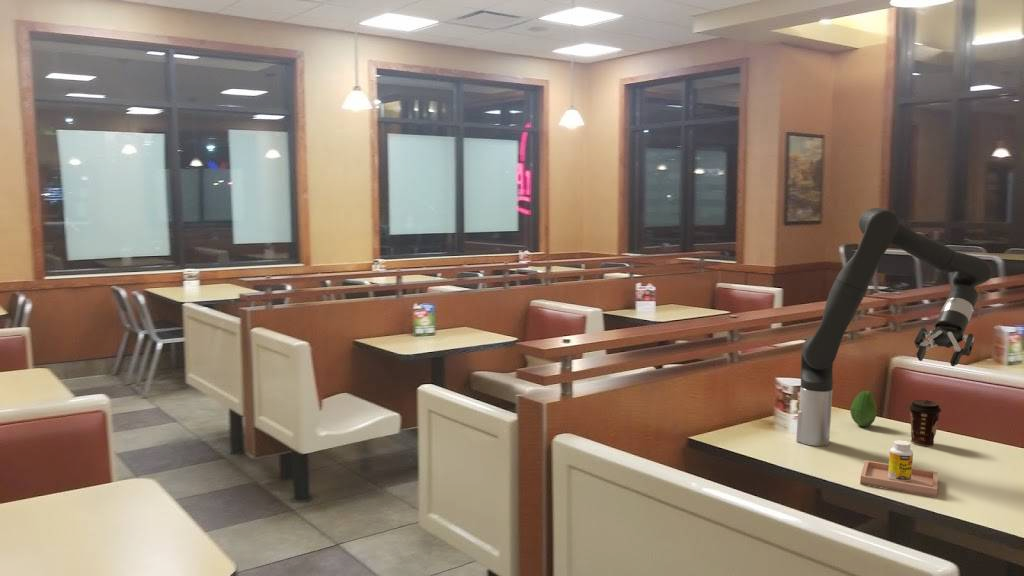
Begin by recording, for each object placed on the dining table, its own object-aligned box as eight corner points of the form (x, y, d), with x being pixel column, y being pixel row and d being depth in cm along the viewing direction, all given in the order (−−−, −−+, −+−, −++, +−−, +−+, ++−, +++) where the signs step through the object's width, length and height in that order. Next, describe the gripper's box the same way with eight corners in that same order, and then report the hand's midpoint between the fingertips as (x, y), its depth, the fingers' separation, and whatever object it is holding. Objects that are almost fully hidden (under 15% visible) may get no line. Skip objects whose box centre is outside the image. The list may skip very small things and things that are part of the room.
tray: (860, 484, 205) (860, 476, 205) (864, 467, 217) (865, 460, 217) (936, 497, 197) (937, 489, 196) (936, 479, 209) (937, 471, 208)
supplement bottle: (897, 483, 204) (900, 446, 202) (883, 476, 209) (885, 439, 208) (915, 482, 205) (918, 445, 204) (901, 474, 210) (903, 438, 209)
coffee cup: (931, 439, 243) (934, 399, 241) (943, 448, 235) (946, 407, 233) (902, 438, 244) (905, 398, 242) (913, 447, 236) (916, 405, 234)
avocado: (878, 425, 257) (880, 390, 256) (872, 430, 251) (874, 395, 250) (852, 420, 262) (855, 386, 261) (846, 426, 256) (848, 391, 254)
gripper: (925, 306, 224) (905, 349, 218) (979, 312, 213) (960, 358, 207) (931, 322, 228) (912, 365, 222) (984, 328, 217) (966, 374, 211)
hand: (935, 361), depth 214 cm, fingers open, 8 cm apart
